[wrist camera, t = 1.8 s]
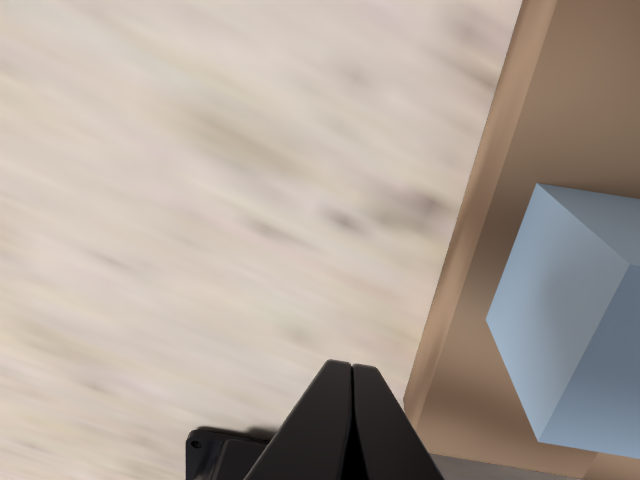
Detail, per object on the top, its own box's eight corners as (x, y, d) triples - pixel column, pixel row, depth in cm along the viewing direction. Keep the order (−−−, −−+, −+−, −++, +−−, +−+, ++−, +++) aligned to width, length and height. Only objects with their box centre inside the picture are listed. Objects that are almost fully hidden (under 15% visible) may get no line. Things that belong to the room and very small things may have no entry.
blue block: (629, 342, 14) (744, 476, 9) (485, 319, 14) (537, 441, 10) (705, 209, 12) (892, 305, 7) (536, 182, 12) (629, 264, 8)
